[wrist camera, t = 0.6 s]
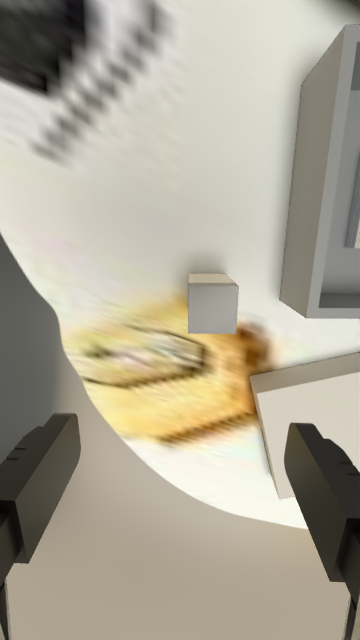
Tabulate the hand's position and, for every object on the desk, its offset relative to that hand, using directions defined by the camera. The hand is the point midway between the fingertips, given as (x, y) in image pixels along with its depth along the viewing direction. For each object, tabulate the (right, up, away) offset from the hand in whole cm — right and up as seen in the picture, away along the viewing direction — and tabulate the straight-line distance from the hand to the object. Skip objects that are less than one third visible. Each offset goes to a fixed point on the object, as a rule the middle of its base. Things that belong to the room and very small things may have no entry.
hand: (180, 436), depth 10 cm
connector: (+3, +8, +23) cm, 25 cm away
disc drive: (+22, -8, +28) cm, 37 cm away
